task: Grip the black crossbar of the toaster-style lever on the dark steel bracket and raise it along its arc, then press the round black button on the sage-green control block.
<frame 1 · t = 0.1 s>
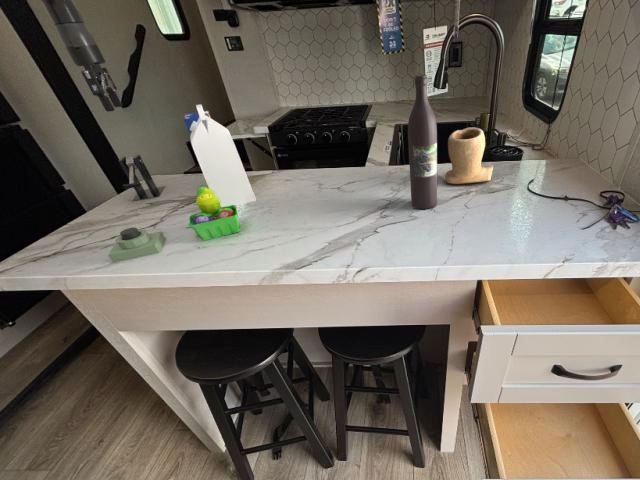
hand: (115, 108, 106), 25 cm above the counter, tool pointing down, fingers open, 8 cm apart
bracket: (150, 196, 114), on the counter
control block: (140, 250, 84), on the counter
lever: (132, 173, 105), point 9 cm above the counter, hinge at -25.0°
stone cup: (469, 182, 104), on the counter
milk: (235, 199, 107), on the counter
button: (130, 234, 81), point 4 cm above the counter, slide at 0.1 cm
wine bottle: (424, 205, 94), on the counter
fruit basket: (221, 232, 89), on the counter
beverage box: (225, 185, 118), on the counter
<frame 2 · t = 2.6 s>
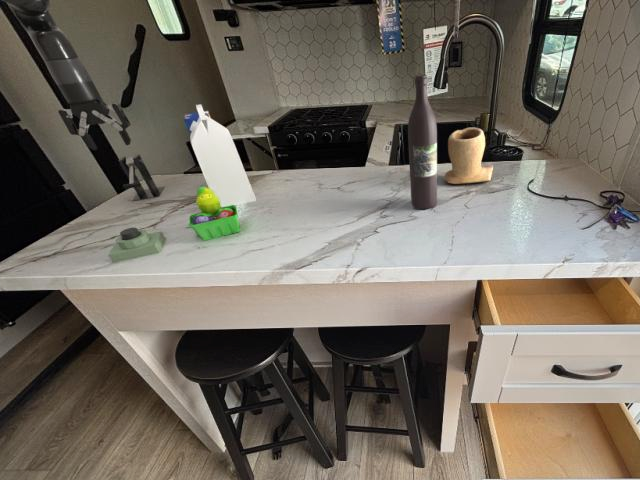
hand: (111, 147, 97), 18 cm above the counter, tool pointing down, fingers open, 8 cm apart
nothing on the counter moved.
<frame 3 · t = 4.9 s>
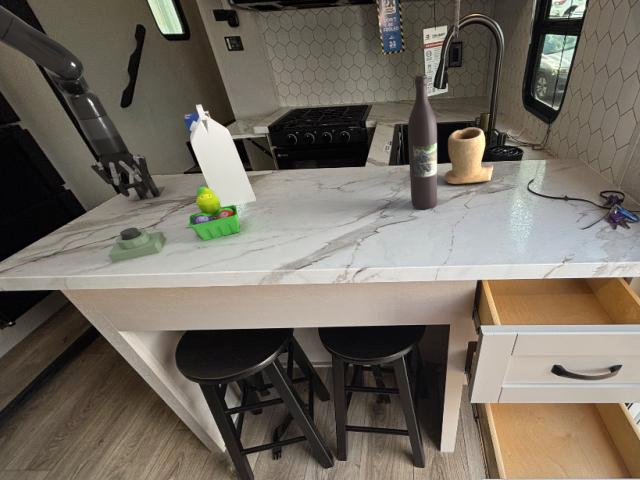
hand: (137, 194, 105), 4 cm above the counter, tool pointing down, fingers closed on lever, 4 cm apart
lever: (132, 173, 105), point 9 cm above the counter, hinge at -25.1°, touching gripper
everything else where it was.
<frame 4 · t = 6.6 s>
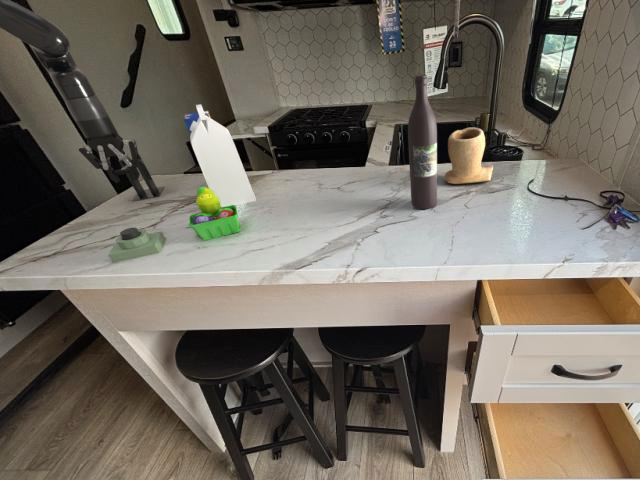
hand: (127, 179, 101), 9 cm above the counter, tool pointing down, fingers closed on lever, 4 cm apart
lever: (128, 167, 103), point 11 cm above the counter, hinge at 1.5°, touching gripper
everything else where it was.
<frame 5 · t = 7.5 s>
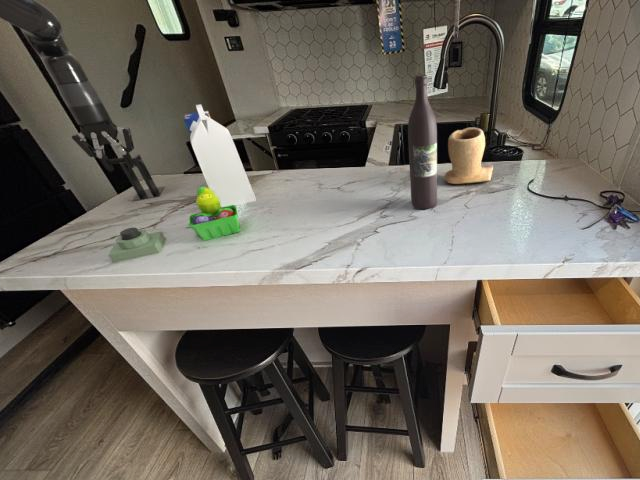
hand: (121, 168, 99), 12 cm above the counter, tool pointing down, fingers closed on lever, 4 cm apart
lever: (125, 162, 103), point 12 cm above the counter, hinge at 18.9°, touching gripper
everything else where it was.
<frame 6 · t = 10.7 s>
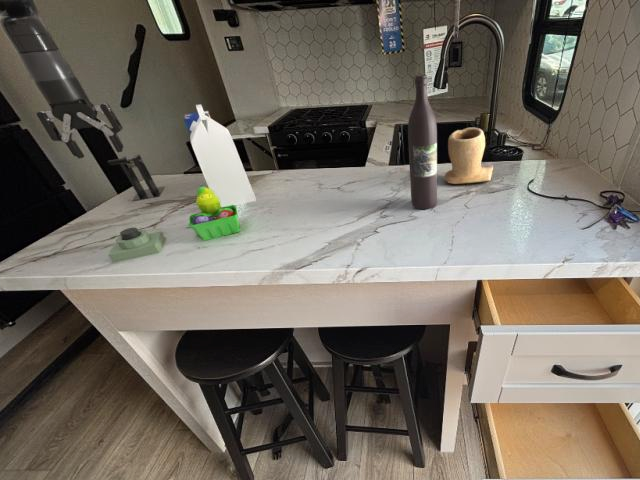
hand: (101, 154, 84), 19 cm above the counter, tool pointing down, fingers open, 8 cm apart
lever: (125, 162, 103), point 12 cm above the counter, hinge at 17.6°
everything else where it was.
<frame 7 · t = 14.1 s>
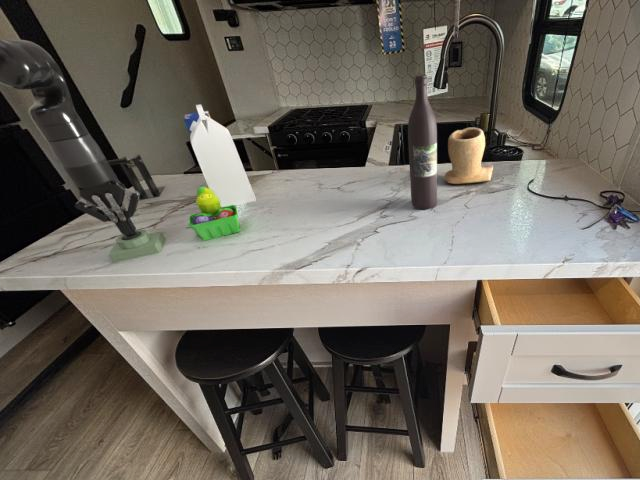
hand: (130, 234, 81), 4 cm above the counter, tool pointing down, fingers closed
button: (132, 237, 82), point 4 cm above the counter, slide at -0.9 cm, touching gripper
everything else where it was.
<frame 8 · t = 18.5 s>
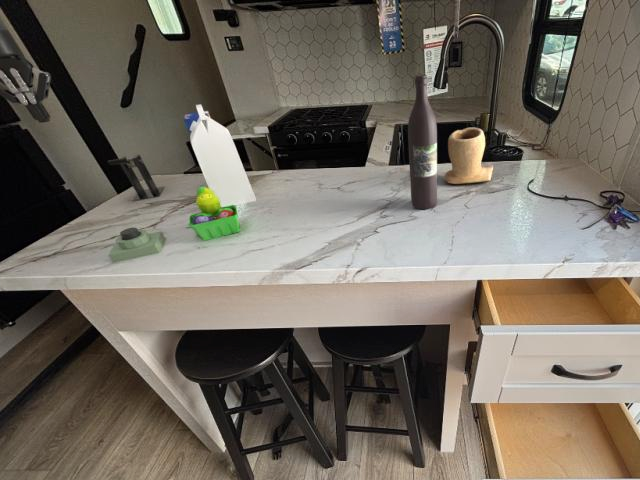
hand: (44, 121, 81), 27 cm above the counter, tool pointing down, fingers closed
button: (130, 234, 81), point 4 cm above the counter, slide at 0.1 cm
everything else where it was.
at the end: lever at +18° (first picture: -25°); button pushed in 1.1 cm at the most during the clip, back to where it started at the end; button slide at 0.1 cm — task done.
